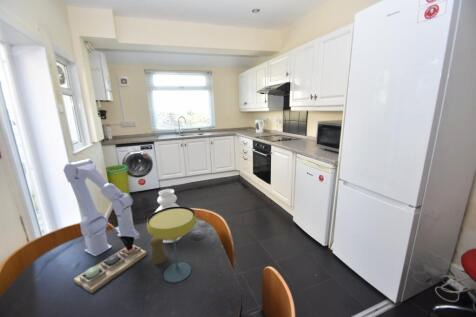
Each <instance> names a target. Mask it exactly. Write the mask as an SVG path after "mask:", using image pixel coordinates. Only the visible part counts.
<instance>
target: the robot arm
mask: <svg viewBox="0 0 476 317" xmlns="http://www.w3.org/2000/svg"><path fill="white" fill-rule="evenodd" d="M96 165H97V164H95V163H94V161H93V160H92V159H90V158H86V159H82V160H79V161H75V162H68V163H66V164H65V165H64V168H63V170H62V171H63V173H64V175H65V177H66V180H67V182H68V183H69V184H70V186H71V189H72V190H73V193H74V195H75V198H76V201H77V202H78V206H79V208H80V210H81V213H82V215H83V217H82V219H81V220H80V222H79V226H80V232H81V234H82V236H83V237H84V244H85V247H86V248H85V249H84V252H86V253H88V254H90V255H92V256H94V257H97V256H99V255H101V254H102V253H104V252H106V251H108V250H110V249H112V248H113V246H112V245H110V244H109V243H108V239H107V233H106V230H107V227H108V226H109V220H108V218H107V217H106V216H105V214H104V212H101V211H98V210H97V208H96V205H95V203H94V200H93V198H92V195H91V193H90V191H89V188H88V185H87V183H86V180H87V179H88V180H89V181H91V182H92V183H94V184H95V185H96V186H97V187H98V188H100V189H101V190H100V193H101V194H102V196H104V197H105V198H106V199H107V200H108V201H109V202H110V203H111V208H112V209H113V210H114V214H115V215H116V219H117V226H116V227H115V228H114V232H116V233H118V234H117V237H118V238H119V239H120V241H121V242H122V244H123V245H124V248H125V247H126V249H127V250H130V249H132V248H133V245H134V241H135V240H139V239H140V238H141V236H140V233H139V232H138V230H136V229H135V226H134V221H133V212H132V205H133V203H134V199H133V197H132V196H131V195H130V194H129V193H126V192H122V190H120V189H119V188H118V187H117V185H115V184H114V183H111V182H108V181H107V180H106V179H105V178H104V176H103V175H102V174H101V173H100V172H99V171H98V169H97V166H96Z"/></svg>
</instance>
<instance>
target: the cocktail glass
mask: <svg viewBox="0 0 476 317" xmlns="http://www.w3.org/2000/svg"><path fill="white" fill-rule="evenodd" d="M196 223H197V215H196V212H195V210H194V209H192V208H190V207H187V206H180V205H179V207H169V208H165V209H162V210H159V211H157V212H155V211H154V213H152V214H151V215H150V216H149V217H148V218H147V220H146V229H147V232H148V234H149V235H150V236H152V238H153V237H155V238H158V239H163V240H169V239H171V240H172V241H174V242H173V246H174V248H173V249H174V257H175V258H174V260H175V263H173V264H171V265H169V266H168V267H167V268H165V270H164V272H163V278H164V280H165V281H166V282H168V283H171V284H172V283H180V282H183V281H184V280H186V279H187V278H188V277H189V276H190V275H191V272H192V267H191V266H190V264H189V263H187V262H181V261H180V262H179V261H178V255H177V246H176V241H175V240H177V238H179V237H181V236H182V237H183V236H185V235H187V234H188V233H189V232H191V231H192V230H193V229H194V227H195V225H196ZM182 237H181V238H182ZM177 241H178V240H177Z"/></svg>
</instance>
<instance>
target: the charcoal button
mask: <svg viewBox="0 0 476 317" xmlns="http://www.w3.org/2000/svg"><path fill="white" fill-rule="evenodd" d="M114 254H115V253H114ZM105 259H106V262H107V265H108V266H112V265H114V264H115V263H117V262H118V261H119V258H118V255H116V254H115V255H113V254H111V255H109V256H107V257H106V258H105Z"/></svg>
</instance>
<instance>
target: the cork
mask: <svg viewBox="0 0 476 317" xmlns="http://www.w3.org/2000/svg"><path fill="white" fill-rule="evenodd" d="M163 244H164V243H163V239H158V238H155V237H153V236H152V238H151V239H150V246H151V247H152V248H151V262H152V264H153V265H160V264H162V263H165V262H166V260H167V255H166V252H165V249H164V246H163Z"/></svg>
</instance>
